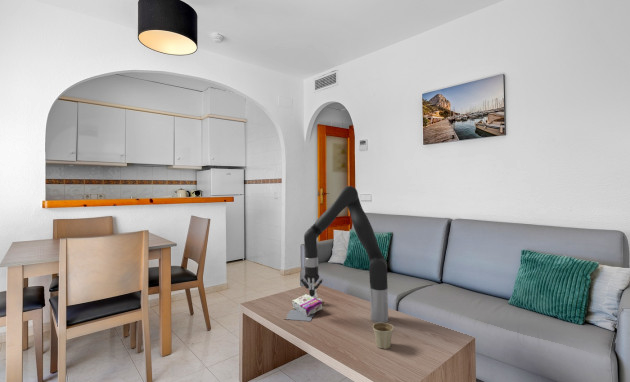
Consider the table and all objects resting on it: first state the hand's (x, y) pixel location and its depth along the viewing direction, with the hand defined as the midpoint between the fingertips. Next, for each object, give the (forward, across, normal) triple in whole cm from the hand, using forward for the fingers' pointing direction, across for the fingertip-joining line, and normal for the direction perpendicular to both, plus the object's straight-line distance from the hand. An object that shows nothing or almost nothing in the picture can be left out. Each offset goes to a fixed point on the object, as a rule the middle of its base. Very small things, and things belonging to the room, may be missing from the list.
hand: (312, 295), depth 177 cm
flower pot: (+12, -39, +26) cm, 48 cm away
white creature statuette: (+12, +3, -18) cm, 22 cm away
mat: (+12, +7, 0) cm, 14 cm away
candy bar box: (+8, -1, -2) cm, 8 cm away
